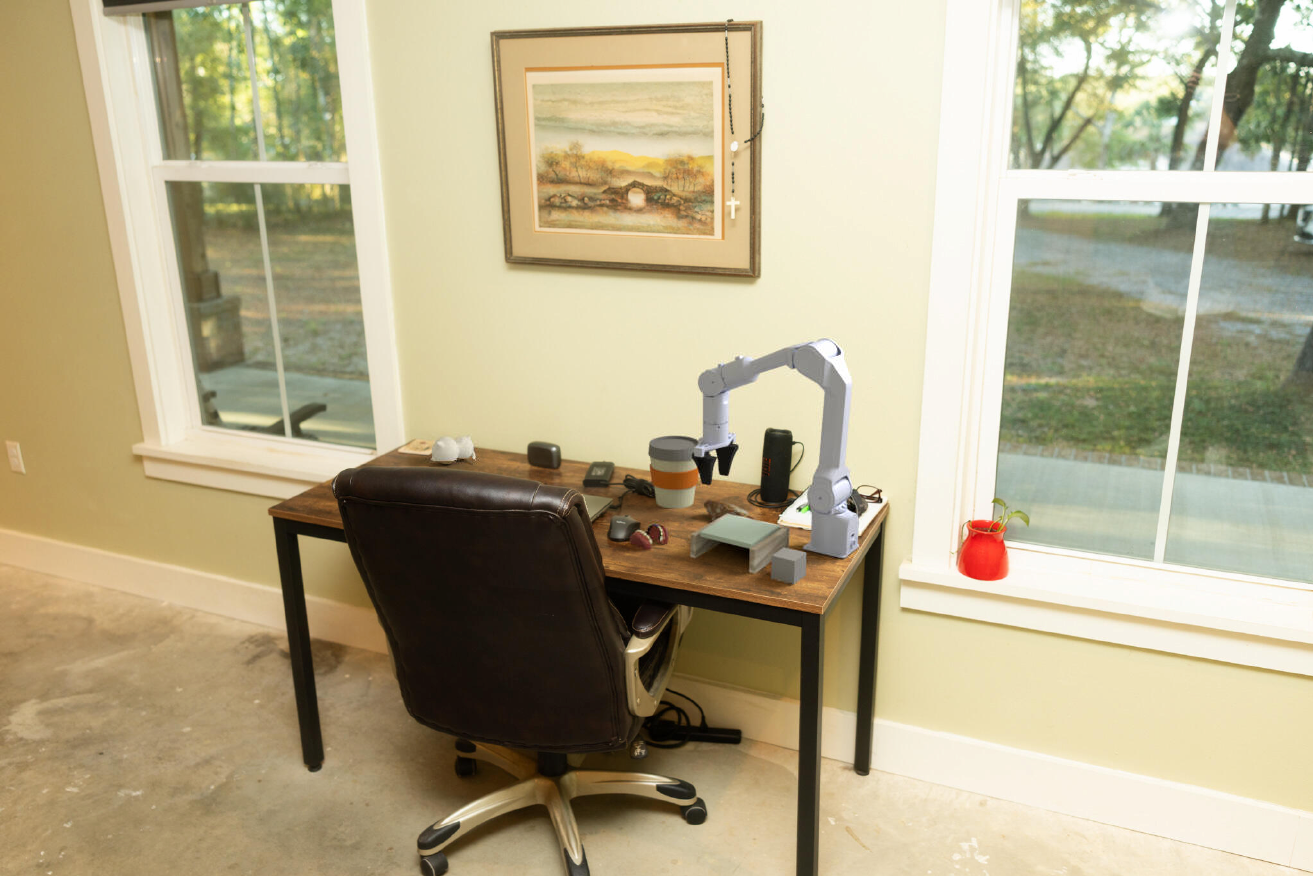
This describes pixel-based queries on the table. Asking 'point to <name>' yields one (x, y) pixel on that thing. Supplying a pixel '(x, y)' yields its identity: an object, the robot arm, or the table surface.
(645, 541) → the dentures model
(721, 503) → the decorative stone
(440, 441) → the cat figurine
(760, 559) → the frame
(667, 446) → the reusable coffee cup
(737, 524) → the trapdoor
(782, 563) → the granite block
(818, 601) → the table surface
